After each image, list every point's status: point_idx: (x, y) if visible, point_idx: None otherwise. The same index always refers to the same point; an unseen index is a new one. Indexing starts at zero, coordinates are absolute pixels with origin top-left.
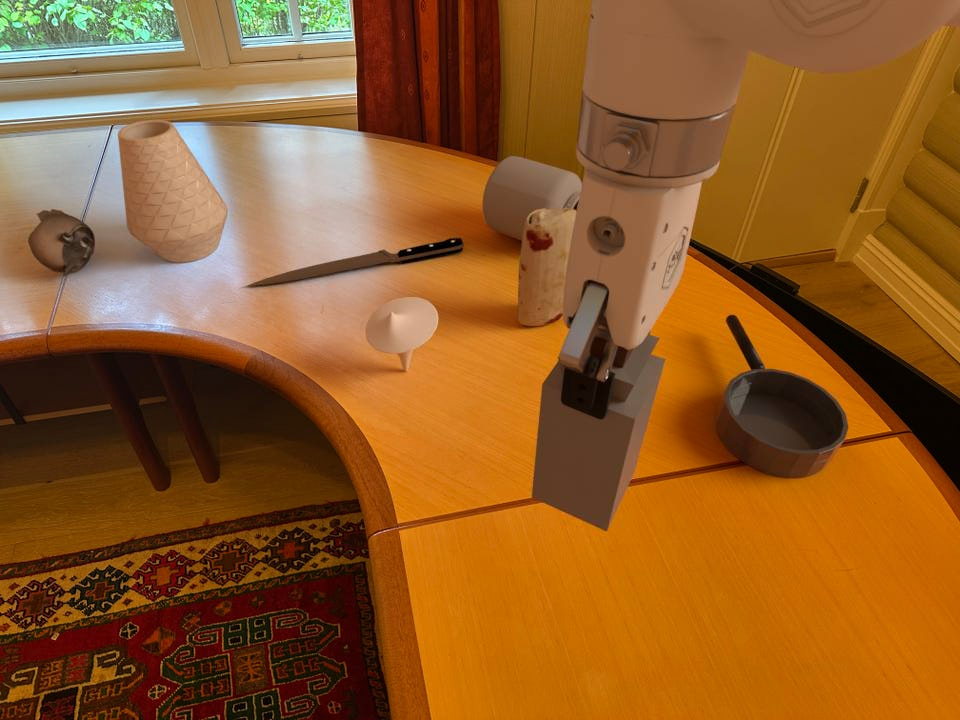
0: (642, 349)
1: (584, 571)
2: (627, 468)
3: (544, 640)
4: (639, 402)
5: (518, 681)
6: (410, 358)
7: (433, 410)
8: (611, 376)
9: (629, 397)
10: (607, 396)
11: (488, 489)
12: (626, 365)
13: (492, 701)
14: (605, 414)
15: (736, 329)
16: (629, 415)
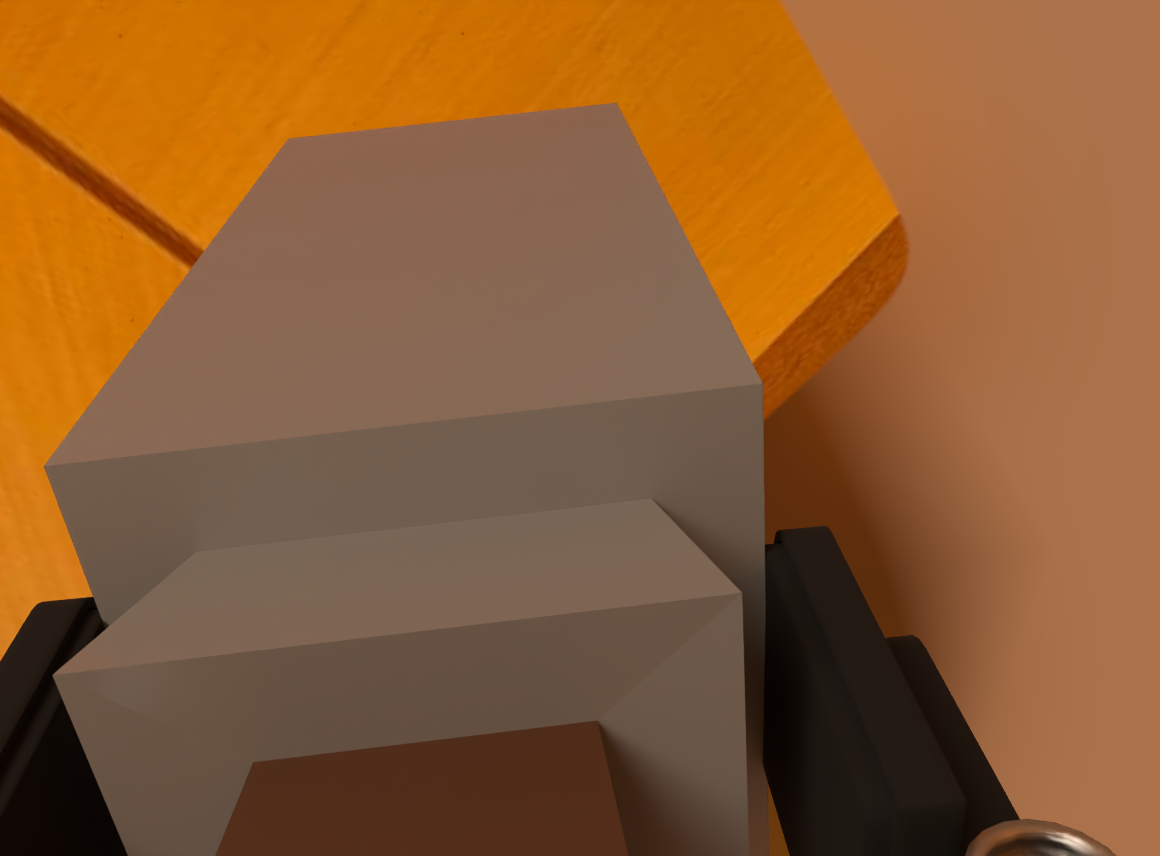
0: (295, 709)
1: (377, 84)
2: (515, 189)
3: (617, 77)
4: (597, 426)
5: (742, 78)
6: None
7: None
8: (947, 810)
9: (587, 494)
10: (894, 660)
11: None
12: (548, 714)
13: (814, 105)
14: (829, 542)
15: None
16: (753, 427)
